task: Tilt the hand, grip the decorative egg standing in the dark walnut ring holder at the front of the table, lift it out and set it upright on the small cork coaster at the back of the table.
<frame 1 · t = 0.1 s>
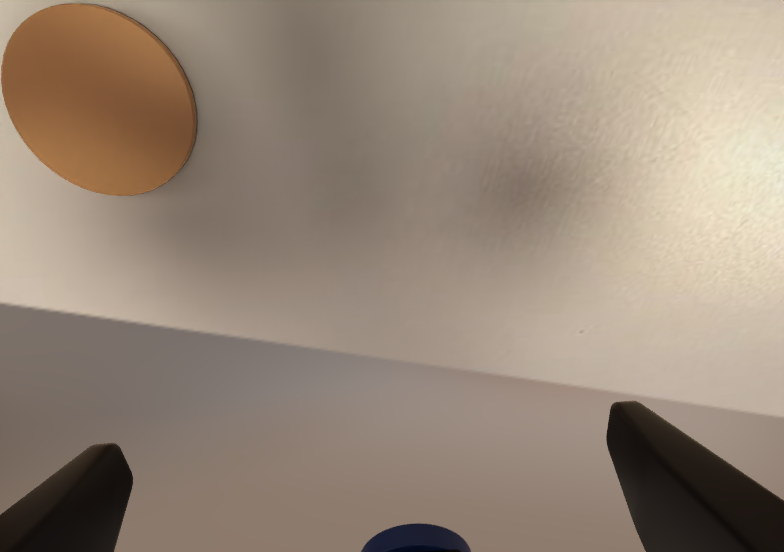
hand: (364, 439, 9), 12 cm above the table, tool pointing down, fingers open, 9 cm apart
coaster: (104, 105, 18), on the table
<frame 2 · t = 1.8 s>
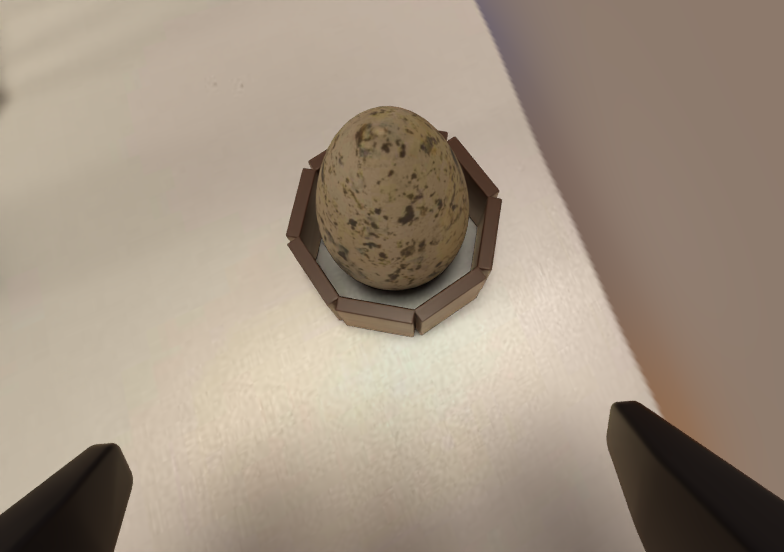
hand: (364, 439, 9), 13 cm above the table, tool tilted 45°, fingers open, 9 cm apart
decorative egg: (397, 245, 24), resting in egg holder
egg holder: (396, 244, 24), on the table
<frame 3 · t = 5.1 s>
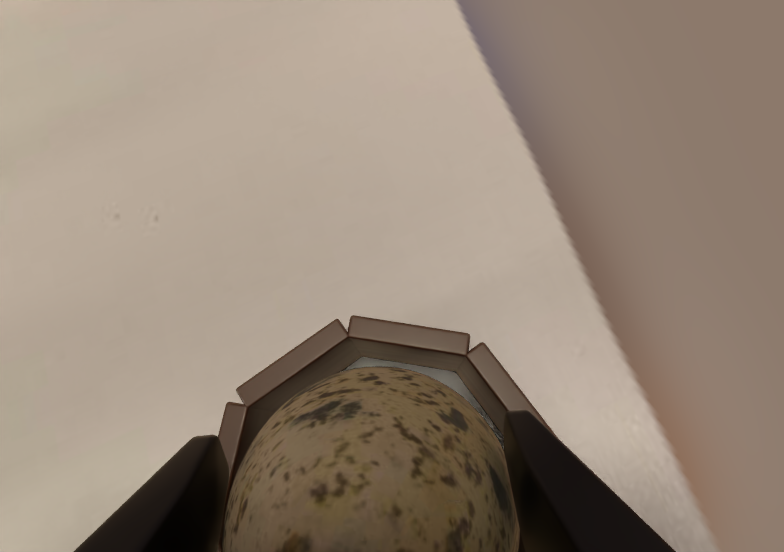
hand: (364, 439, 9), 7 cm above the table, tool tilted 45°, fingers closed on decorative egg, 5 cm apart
decorative egg: (389, 483, 15), resting in egg holder, touching gripper
egg holder: (389, 484, 15), on the table
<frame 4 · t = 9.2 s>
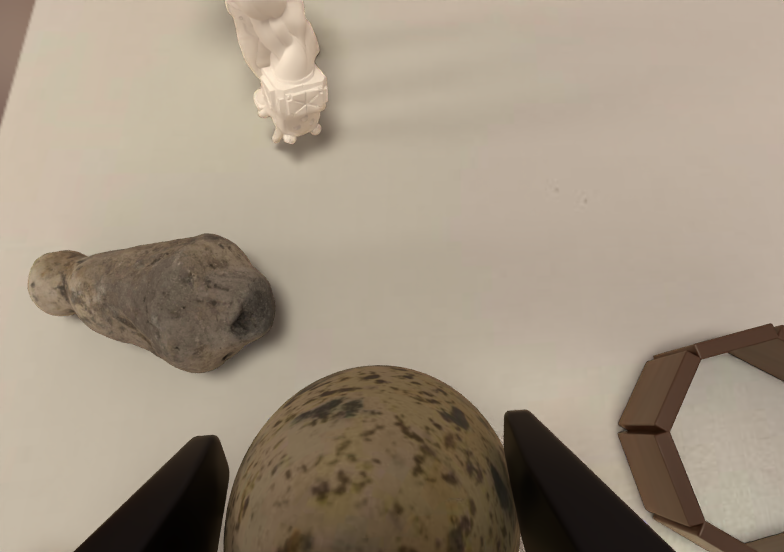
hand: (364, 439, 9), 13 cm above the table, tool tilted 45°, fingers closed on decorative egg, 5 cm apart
decorative egg: (390, 482, 15), point 6 cm above the table, touching gripper
figurine: (278, 84, 27), on the table
egg holder: (727, 444, 21), on the table
stone: (177, 314, 24), on the table
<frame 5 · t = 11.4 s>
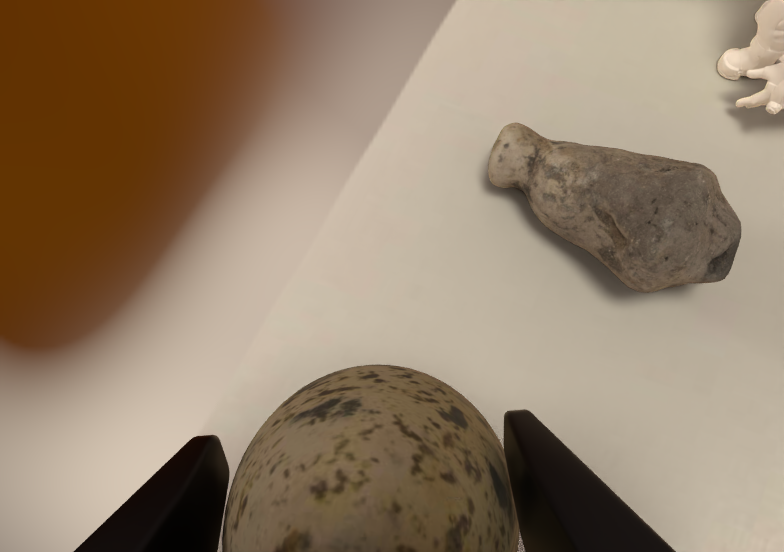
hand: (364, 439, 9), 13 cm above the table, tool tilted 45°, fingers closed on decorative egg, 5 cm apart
decorative egg: (389, 482, 15), point 6 cm above the table, touching gripper
figurine: (741, 52, 27), on the table
stone: (584, 227, 24), on the table
when the fingers open (7 cm above the table, at t = 13.6 s): decorative egg stays where it is, resting on coaster.
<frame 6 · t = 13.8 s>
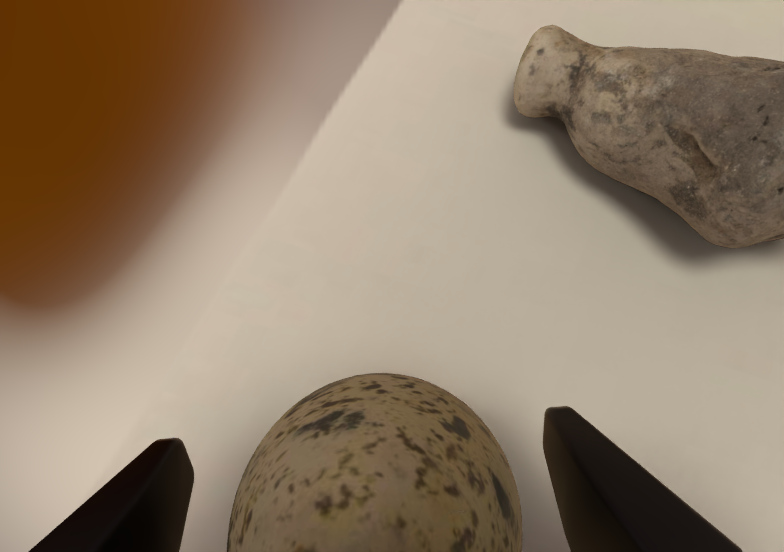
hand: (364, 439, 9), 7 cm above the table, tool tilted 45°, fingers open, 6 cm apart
decorative egg: (391, 488, 15), resting on coaster
stone: (640, 171, 19), on the table
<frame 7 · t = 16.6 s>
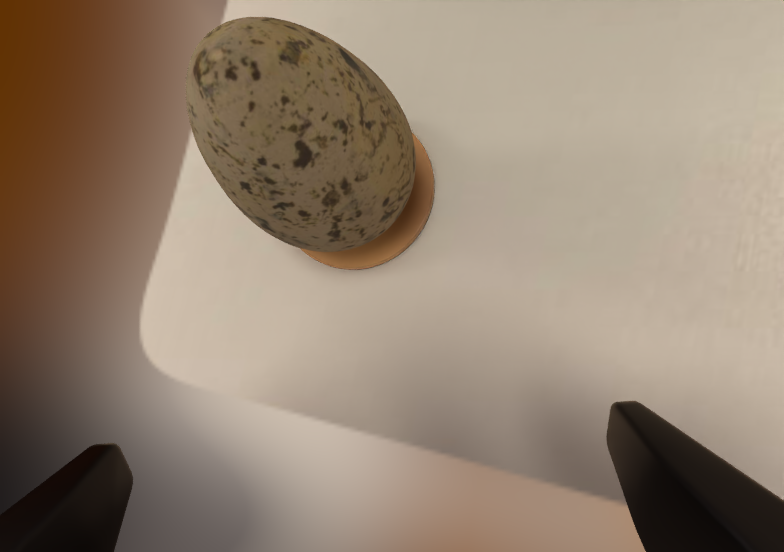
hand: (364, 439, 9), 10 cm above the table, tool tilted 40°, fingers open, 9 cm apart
coaster: (355, 191, 21), on the table
decorative egg: (356, 193, 21), resting on coaster
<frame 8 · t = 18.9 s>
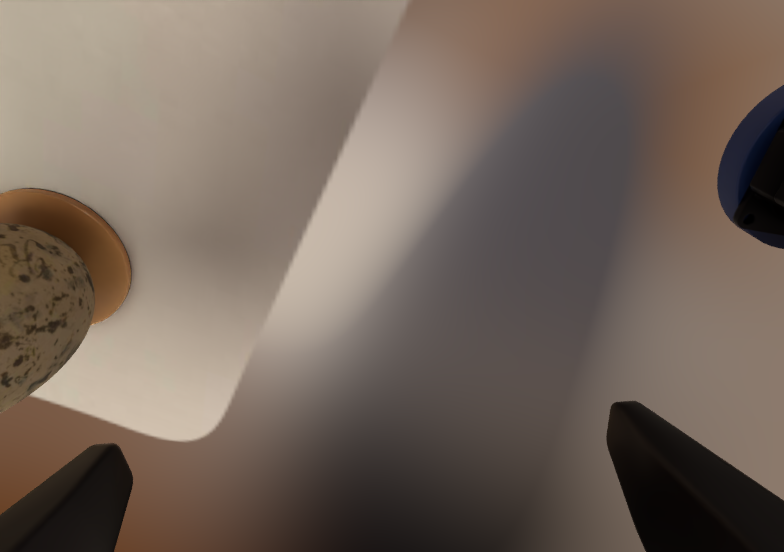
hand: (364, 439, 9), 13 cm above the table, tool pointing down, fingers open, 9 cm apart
coaster: (53, 260, 22), on the table
decorative egg: (54, 261, 22), resting on coaster
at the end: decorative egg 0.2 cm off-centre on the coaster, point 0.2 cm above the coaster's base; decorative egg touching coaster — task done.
